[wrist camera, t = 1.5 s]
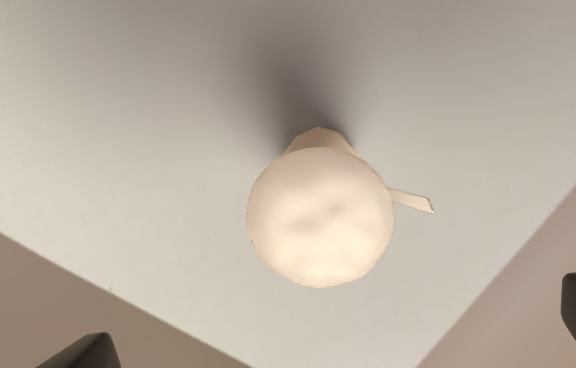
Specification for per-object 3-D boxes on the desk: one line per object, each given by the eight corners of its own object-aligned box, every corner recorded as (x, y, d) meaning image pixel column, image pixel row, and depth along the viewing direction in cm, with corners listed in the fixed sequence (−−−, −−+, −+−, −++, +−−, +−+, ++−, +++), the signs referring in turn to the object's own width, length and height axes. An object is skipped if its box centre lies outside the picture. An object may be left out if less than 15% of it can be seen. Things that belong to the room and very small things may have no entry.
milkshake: (395, 177, 20) (459, 282, 11) (296, 215, 21) (275, 340, 12) (363, 91, 19) (402, 123, 10) (259, 134, 20) (205, 202, 11)
